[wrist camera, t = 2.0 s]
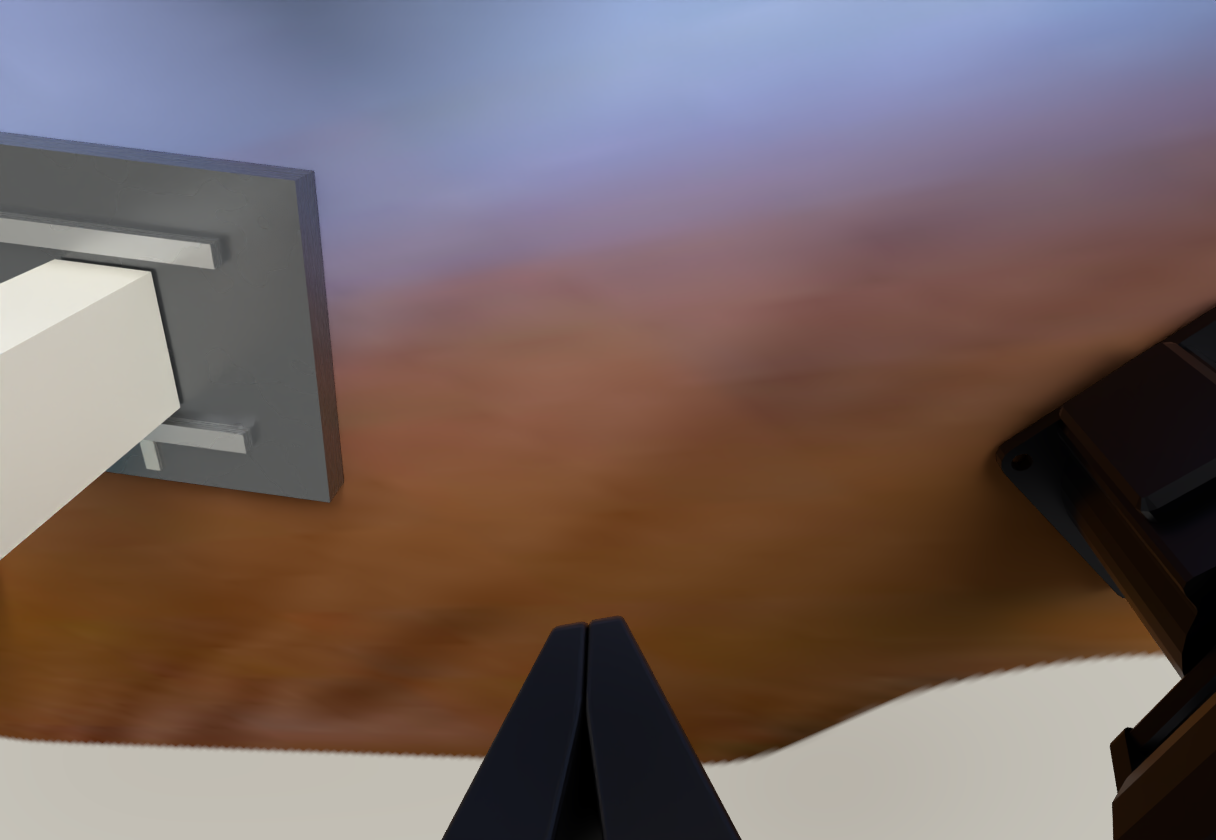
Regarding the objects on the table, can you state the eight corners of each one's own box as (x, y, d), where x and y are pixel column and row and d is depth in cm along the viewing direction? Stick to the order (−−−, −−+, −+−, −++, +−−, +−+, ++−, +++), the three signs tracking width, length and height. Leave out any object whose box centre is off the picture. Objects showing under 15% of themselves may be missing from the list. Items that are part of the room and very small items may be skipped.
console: (313, 171, 18) (286, 185, 17) (343, 482, 23) (324, 510, 21) (-256, 100, 18) (-321, 109, 17) (-113, 419, 23) (-157, 444, 22)
